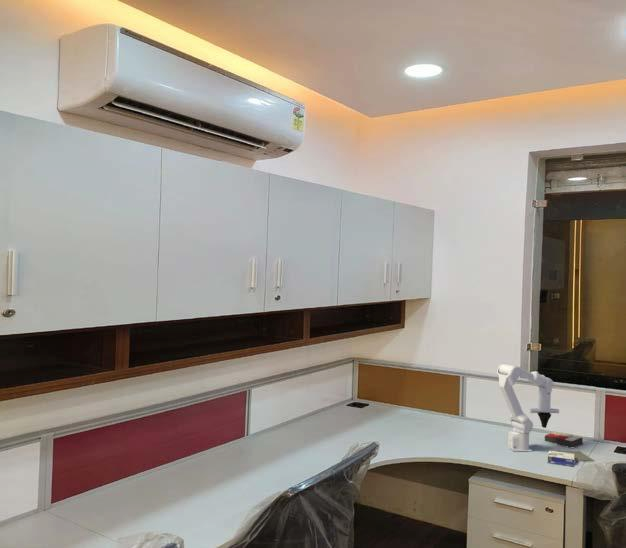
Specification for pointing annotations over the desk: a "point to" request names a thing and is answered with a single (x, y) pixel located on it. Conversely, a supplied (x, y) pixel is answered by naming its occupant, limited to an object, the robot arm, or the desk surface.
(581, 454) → the desk mat
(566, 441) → the red and black box
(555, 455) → the ink box
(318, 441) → the desk surface
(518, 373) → the robot arm
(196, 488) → the desk surface
